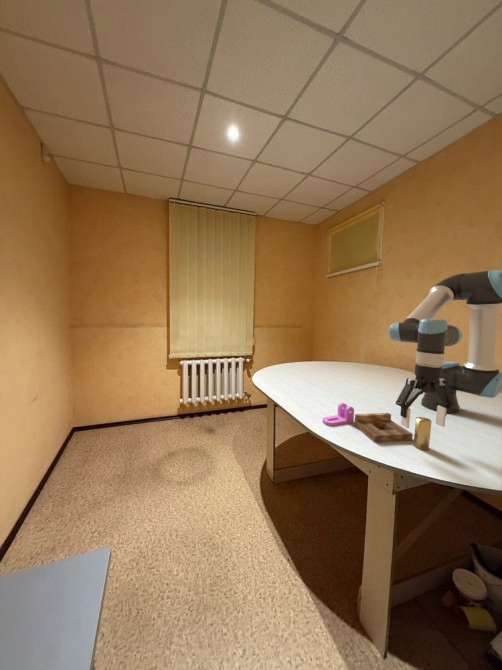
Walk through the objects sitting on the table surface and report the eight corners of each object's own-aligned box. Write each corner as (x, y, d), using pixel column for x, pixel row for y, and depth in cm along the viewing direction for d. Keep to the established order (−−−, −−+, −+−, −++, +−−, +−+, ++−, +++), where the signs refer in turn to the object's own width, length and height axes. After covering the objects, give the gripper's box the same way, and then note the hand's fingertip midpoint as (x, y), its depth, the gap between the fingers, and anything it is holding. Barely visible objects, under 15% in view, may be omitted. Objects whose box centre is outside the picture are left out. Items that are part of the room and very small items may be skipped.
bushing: (421, 443, 88) (423, 416, 87) (432, 450, 83) (434, 422, 82) (410, 444, 87) (412, 417, 86) (420, 451, 83) (423, 422, 82)
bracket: (344, 417, 109) (345, 401, 108) (353, 422, 104) (354, 406, 103) (319, 421, 104) (320, 405, 104) (328, 427, 99) (329, 410, 99)
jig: (387, 424, 103) (388, 412, 102) (412, 440, 90) (413, 427, 89) (354, 425, 100) (355, 414, 100) (374, 442, 88) (375, 429, 87)
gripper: (450, 362, 88) (444, 419, 90) (387, 362, 84) (382, 421, 86) (472, 367, 81) (464, 429, 82) (403, 367, 77) (397, 432, 79)
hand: (422, 425), depth 84 cm, fingers open, 13 cm apart
